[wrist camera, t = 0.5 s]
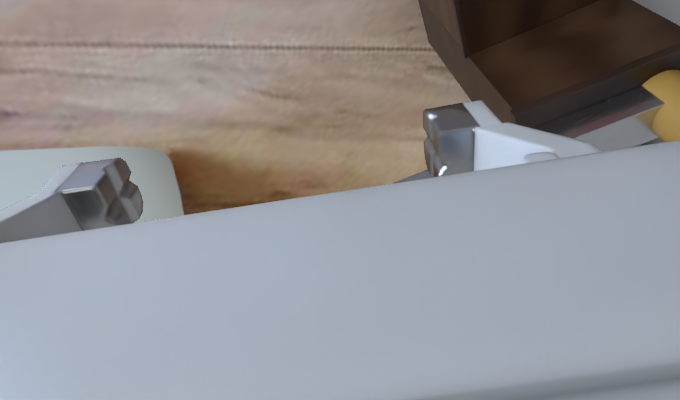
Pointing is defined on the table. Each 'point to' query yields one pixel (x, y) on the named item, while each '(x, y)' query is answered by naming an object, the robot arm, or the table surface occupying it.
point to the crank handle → (621, 118)
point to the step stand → (549, 52)
